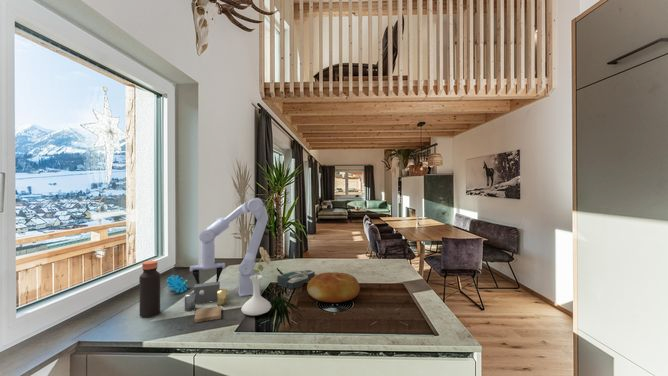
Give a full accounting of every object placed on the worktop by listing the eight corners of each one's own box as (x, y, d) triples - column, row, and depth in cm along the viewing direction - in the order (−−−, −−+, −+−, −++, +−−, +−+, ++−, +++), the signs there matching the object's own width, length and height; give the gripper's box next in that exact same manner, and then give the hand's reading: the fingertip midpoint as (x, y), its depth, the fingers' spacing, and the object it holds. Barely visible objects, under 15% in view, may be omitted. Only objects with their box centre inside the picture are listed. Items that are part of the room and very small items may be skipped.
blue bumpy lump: (174, 293, 127) (164, 275, 130) (166, 301, 128) (156, 284, 131) (193, 288, 138) (183, 272, 141) (186, 296, 138) (176, 280, 142)
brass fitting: (227, 302, 121) (227, 288, 121) (227, 305, 118) (227, 291, 118) (217, 303, 120) (217, 289, 120) (217, 307, 116) (217, 292, 116)
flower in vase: (260, 320, 104) (260, 252, 104) (234, 315, 108) (234, 250, 108) (279, 306, 117) (278, 245, 117) (255, 302, 121) (255, 243, 121)
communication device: (321, 278, 156) (321, 261, 156) (293, 290, 135) (293, 272, 135) (304, 274, 162) (304, 258, 162) (274, 286, 142) (274, 268, 142)
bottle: (155, 317, 107) (155, 264, 107) (135, 318, 106) (135, 265, 106) (163, 309, 114) (163, 259, 114) (144, 310, 113) (144, 260, 113)
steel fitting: (196, 306, 117) (196, 291, 117) (195, 310, 113) (195, 295, 113) (185, 308, 115) (185, 293, 115) (184, 312, 112) (184, 296, 112)
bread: (325, 283, 145) (325, 264, 145) (367, 292, 133) (367, 271, 133) (297, 299, 125) (297, 276, 125) (344, 310, 113) (344, 285, 113)
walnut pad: (221, 308, 114) (221, 306, 114) (221, 318, 106) (221, 315, 106) (196, 312, 111) (196, 309, 111) (194, 322, 103) (194, 319, 103)
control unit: (219, 296, 127) (219, 281, 127) (219, 301, 123) (219, 284, 123) (194, 300, 123) (194, 284, 123) (193, 304, 119) (193, 287, 119)
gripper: (224, 252, 136) (224, 280, 136) (190, 254, 131) (190, 284, 131) (224, 255, 129) (225, 285, 129) (189, 258, 124) (189, 289, 124)
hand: (207, 285), depth 130 cm, fingers open, 7 cm apart
